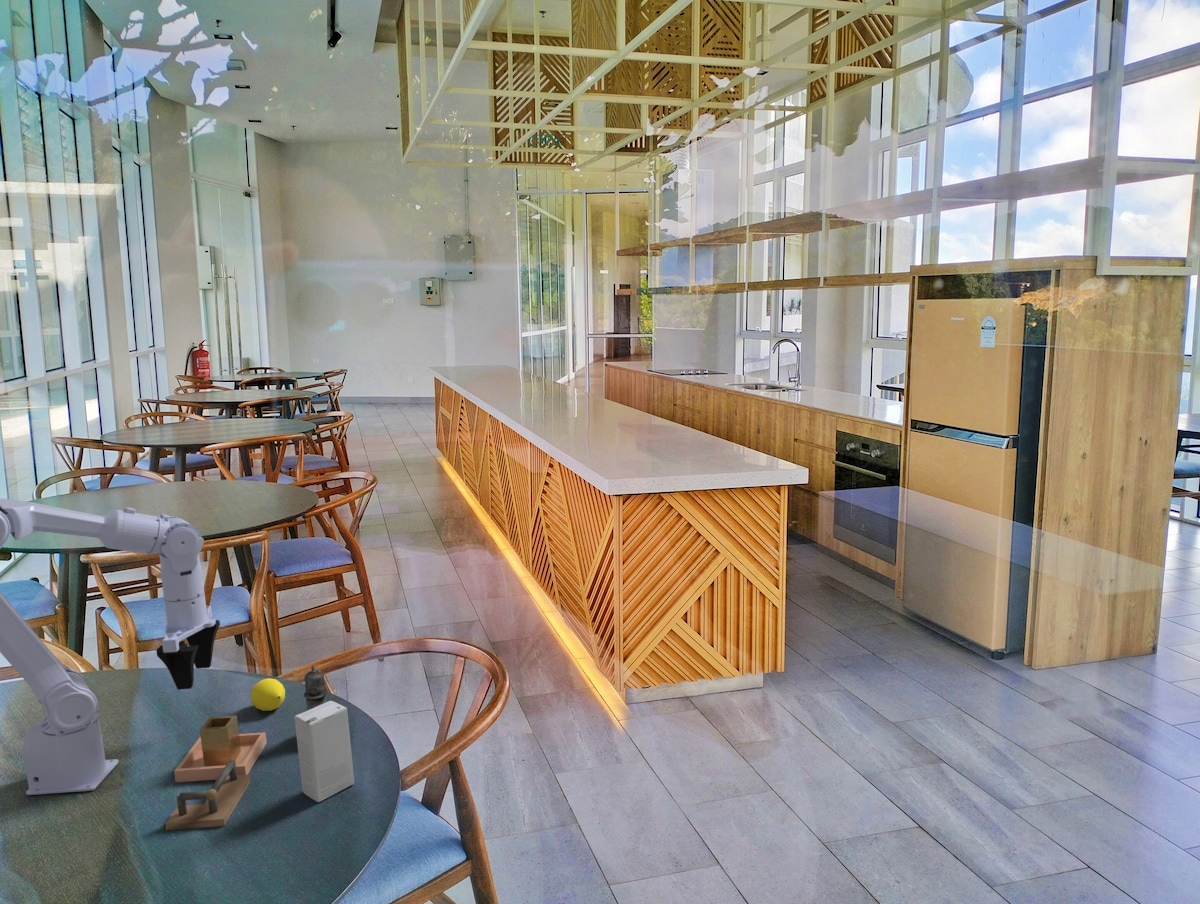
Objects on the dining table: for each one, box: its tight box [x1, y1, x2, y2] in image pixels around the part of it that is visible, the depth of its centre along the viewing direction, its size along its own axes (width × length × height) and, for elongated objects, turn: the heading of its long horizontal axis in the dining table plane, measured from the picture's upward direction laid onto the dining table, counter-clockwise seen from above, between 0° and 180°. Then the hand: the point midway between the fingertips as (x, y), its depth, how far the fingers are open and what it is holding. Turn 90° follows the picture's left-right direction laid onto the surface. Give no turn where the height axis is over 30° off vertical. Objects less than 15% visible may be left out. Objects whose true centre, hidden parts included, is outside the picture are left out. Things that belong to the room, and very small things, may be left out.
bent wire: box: [164, 760, 252, 831], centre depth 120 cm, size 8×11×4 cm
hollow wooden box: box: [199, 715, 241, 767], centre depth 130 cm, size 4×4×6 cm
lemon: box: [249, 677, 286, 712], centre depth 147 cm, size 7×5×5 cm
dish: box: [173, 731, 268, 783], centre depth 131 cm, size 10×10×2 cm
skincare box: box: [294, 700, 355, 803], centre depth 121 cm, size 6×4×12 cm
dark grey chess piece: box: [303, 665, 328, 711], centre depth 137 cm, size 6×6×12 cm
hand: (194, 677), depth 137 cm, fingers open, 7 cm apart
